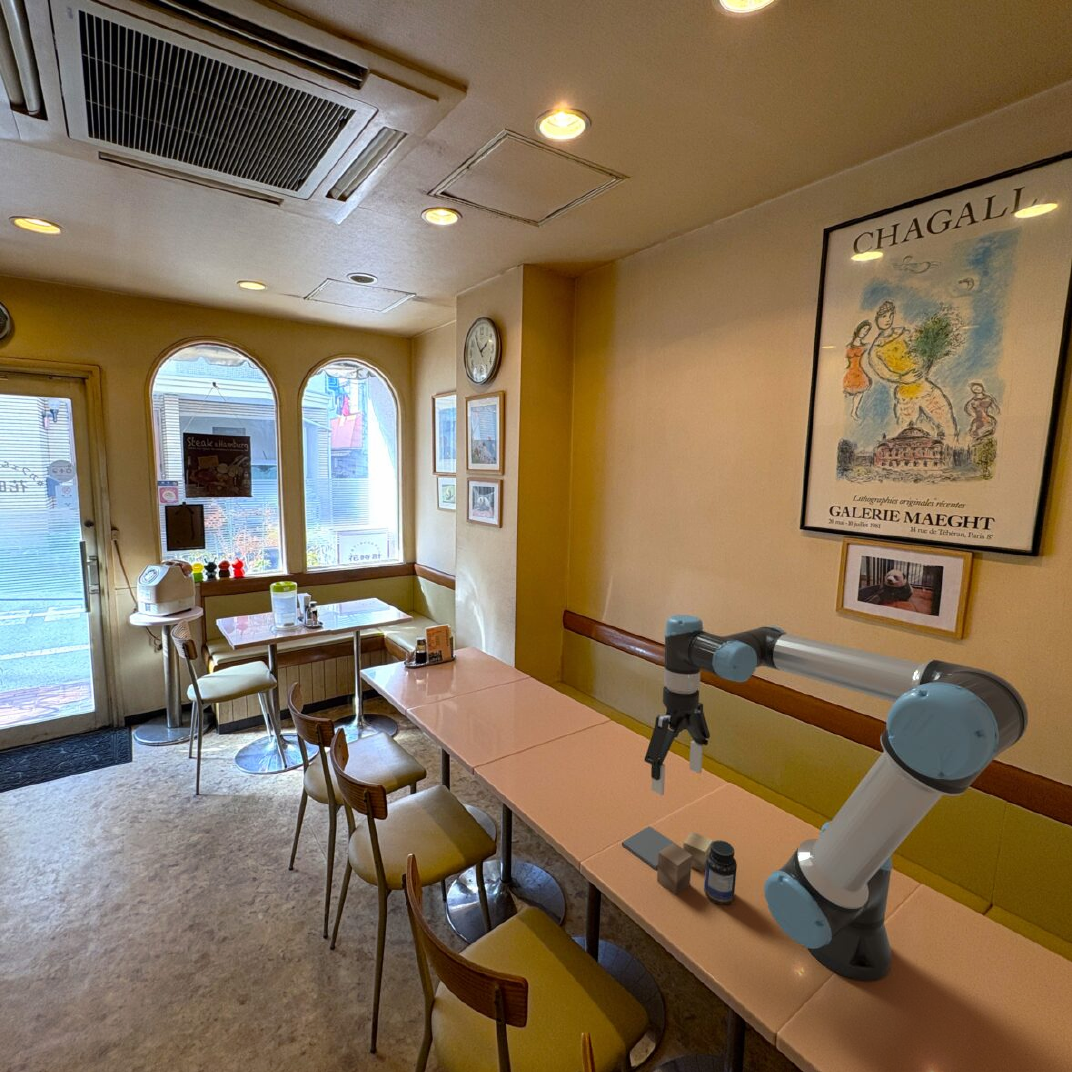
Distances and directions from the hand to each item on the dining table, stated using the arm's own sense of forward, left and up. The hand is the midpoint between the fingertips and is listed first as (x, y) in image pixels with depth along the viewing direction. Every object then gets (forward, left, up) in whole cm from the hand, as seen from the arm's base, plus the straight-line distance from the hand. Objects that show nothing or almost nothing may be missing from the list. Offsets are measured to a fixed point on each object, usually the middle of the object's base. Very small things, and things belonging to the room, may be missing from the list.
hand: (677, 781), depth 124 cm
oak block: (-2, -7, -22) cm, 23 cm away
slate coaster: (+7, -2, -22) cm, 23 cm away
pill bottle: (-11, -2, -22) cm, 24 cm away
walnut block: (-3, +3, -22) cm, 22 cm away
